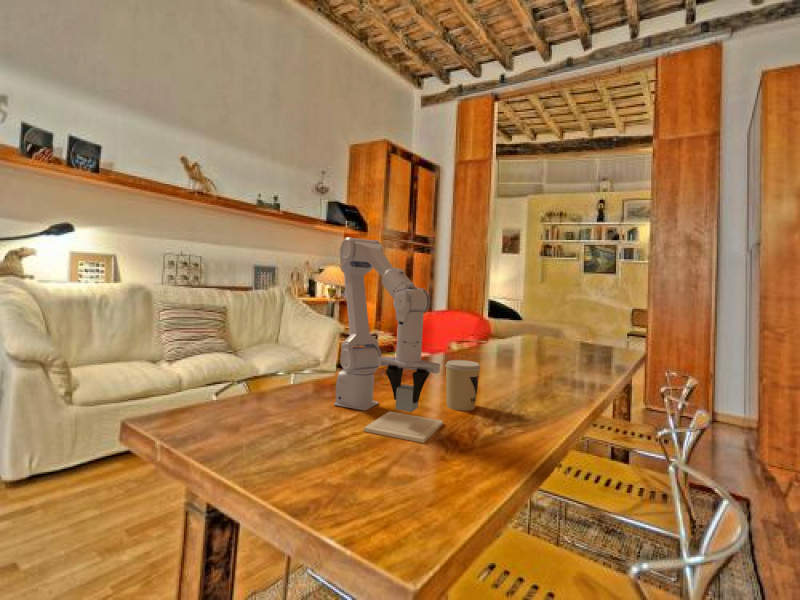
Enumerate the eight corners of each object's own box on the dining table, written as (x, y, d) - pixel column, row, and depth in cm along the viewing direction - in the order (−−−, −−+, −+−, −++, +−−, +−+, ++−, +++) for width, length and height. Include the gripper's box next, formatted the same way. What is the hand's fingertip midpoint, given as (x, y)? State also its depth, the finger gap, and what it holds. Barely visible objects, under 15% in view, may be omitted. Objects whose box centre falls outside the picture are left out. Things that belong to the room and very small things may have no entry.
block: (395, 409, 101) (396, 387, 101) (401, 405, 104) (403, 384, 104) (411, 412, 99) (413, 390, 99) (417, 407, 103) (419, 386, 103)
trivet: (363, 431, 98) (363, 427, 98) (389, 414, 111) (389, 410, 111) (423, 443, 92) (423, 439, 92) (442, 423, 105) (443, 420, 105)
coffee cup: (477, 413, 116) (480, 367, 115) (441, 409, 118) (444, 364, 117) (478, 403, 125) (481, 361, 124) (445, 400, 127) (447, 358, 126)
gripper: (373, 340, 100) (370, 399, 100) (434, 346, 94) (431, 409, 95) (385, 336, 106) (382, 392, 107) (443, 343, 101) (440, 401, 101)
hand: (406, 400), depth 101 cm, fingers closed on block, 4 cm apart
